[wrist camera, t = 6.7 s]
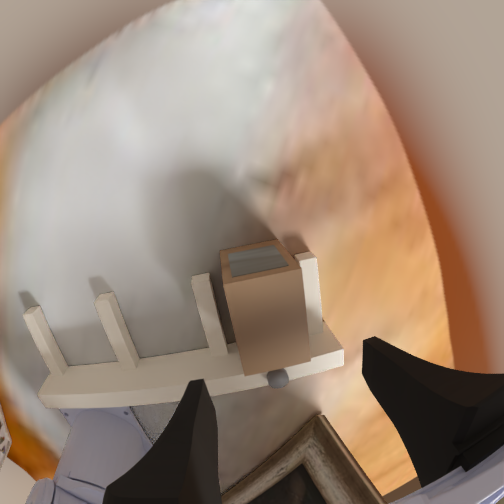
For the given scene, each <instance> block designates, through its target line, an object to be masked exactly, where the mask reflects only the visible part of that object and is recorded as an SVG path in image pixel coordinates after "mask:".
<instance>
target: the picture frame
mask: <svg viewBox="0 0 504 504" xmlns="http://www.w3.org/2000/svg"><path fill="white" fill-rule="evenodd" d="M221 500H222V504H387V502H386V501H385V500H384V498H383V497H382V496H381V494H380V493H379V491H378V490H377V489H376V487H375V486H374V485H373V483H372V482H371V480H370V479H369V478H368V476H367V475H366V474H365V472H364V471H363V469H362V468H361V467H360V465H359V464H358V462H357V461H356V460H355V458H354V457H353V455H352V454H351V453H350V451H349V450H348V448H347V447H346V446H345V444H344V443H343V441H342V440H341V438H340V437H339V436H338V434H337V433H336V431H335V430H334V428H333V427H332V426H331V424H330V423H329V421H328V420H327V418H326V417H325V415H315V416H314V417H313V418H312V419H311V420H310V421H309V422H308V423H307V424H306V425H305V426H304V427H303V428H302V429H301V430H300V431H299V432H298V433H297V434H296V435H295V436H294V437H293V438H292V439H290V440H289V441H288V442H287V443H286V444H285V445H284V446H283V447H282V448H281V449H279V450H278V451H277V452H276V453H275V454H274V455H273V456H271V457H270V458H269V459H268V460H267V461H266V462H264V463H263V464H262V465H261V466H260V467H258V468H257V469H256V470H255V471H254V472H252V473H251V474H250V475H249V476H247V477H246V478H245V479H243V480H242V481H241V482H240V483H238V484H237V485H236V486H234V487H233V488H232V489H230V490H229V491H228V492H226V493H225V494H224V495H222V496H221Z"/></svg>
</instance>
